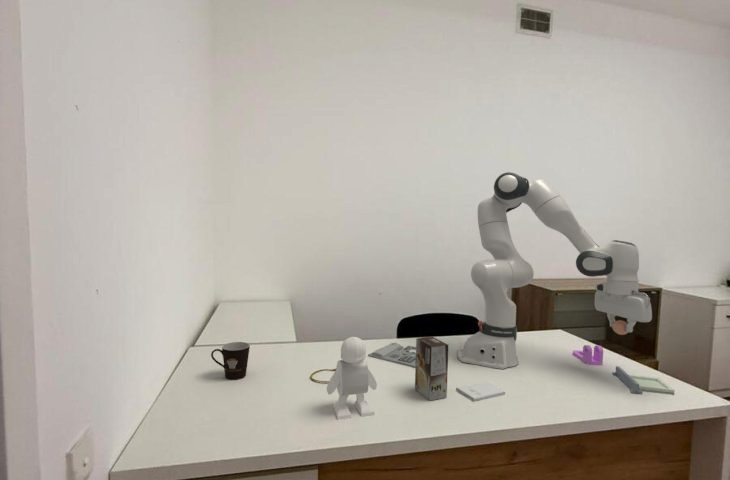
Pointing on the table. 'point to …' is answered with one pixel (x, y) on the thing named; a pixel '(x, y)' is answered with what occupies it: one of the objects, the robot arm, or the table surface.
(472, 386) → the external hard drive
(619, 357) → the table surface
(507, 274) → the robot arm
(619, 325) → the ball
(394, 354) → the office telephone
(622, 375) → the divider
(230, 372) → the coffee mug
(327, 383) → the brown hoop
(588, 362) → the bracket
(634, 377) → the tray
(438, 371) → the coffee box
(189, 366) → the table surface
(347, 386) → the toy robot
